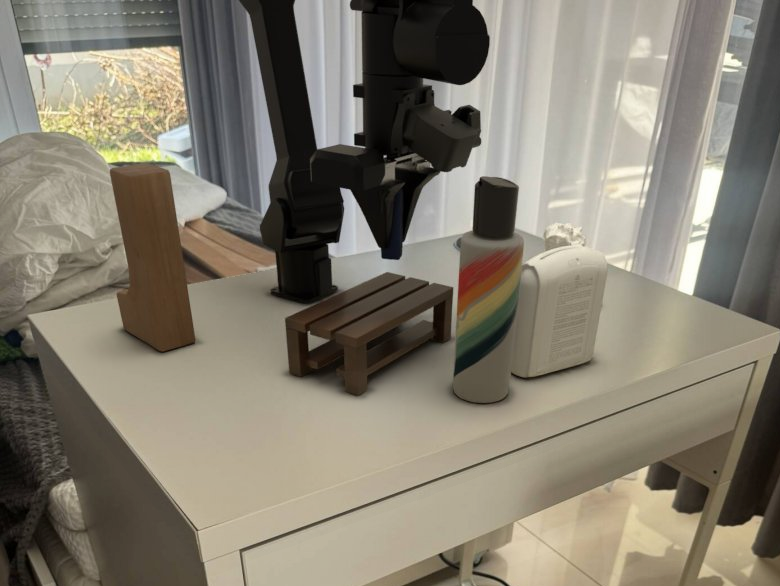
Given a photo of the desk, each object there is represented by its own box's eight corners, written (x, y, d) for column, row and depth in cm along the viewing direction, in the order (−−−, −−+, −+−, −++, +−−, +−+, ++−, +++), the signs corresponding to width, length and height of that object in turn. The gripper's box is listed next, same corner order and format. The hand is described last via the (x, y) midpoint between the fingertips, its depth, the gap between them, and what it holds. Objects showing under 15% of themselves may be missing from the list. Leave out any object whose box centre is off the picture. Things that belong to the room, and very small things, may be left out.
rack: (288, 373, 81) (284, 317, 77) (386, 321, 93) (387, 271, 89) (357, 396, 77) (356, 338, 73) (450, 338, 89) (453, 287, 85)
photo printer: (570, 348, 87) (588, 235, 80) (598, 362, 84) (618, 245, 77) (500, 368, 83) (511, 250, 75) (526, 383, 80) (540, 261, 72)
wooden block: (122, 329, 90) (86, 160, 79) (157, 320, 92) (127, 154, 81) (161, 353, 84) (128, 175, 74) (197, 343, 87) (171, 169, 76)
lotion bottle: (449, 379, 80) (459, 170, 68) (503, 378, 81) (523, 170, 69) (456, 405, 76) (469, 185, 64) (513, 403, 76) (537, 185, 64)
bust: (586, 315, 101) (554, 234, 100) (632, 292, 95) (598, 205, 94) (527, 338, 95) (492, 251, 94) (572, 315, 89) (534, 222, 87)
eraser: (403, 254, 82) (404, 186, 78) (399, 261, 81) (399, 191, 77) (384, 253, 83) (383, 184, 79) (379, 259, 81) (378, 189, 77)
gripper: (407, 91, 62) (404, 284, 71) (517, 71, 74) (501, 238, 84) (301, 78, 67) (311, 261, 76) (420, 62, 79) (416, 221, 89)
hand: (391, 245), depth 81 cm, fingers closed on eraser, 2 cm apart
